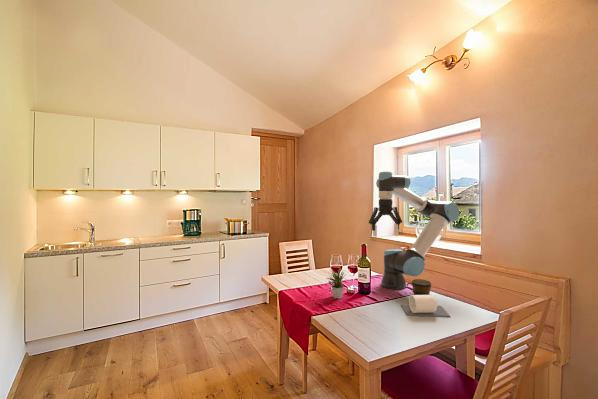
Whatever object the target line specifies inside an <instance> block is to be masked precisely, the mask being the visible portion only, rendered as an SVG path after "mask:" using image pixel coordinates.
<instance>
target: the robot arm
mask: <svg viewBox="0 0 598 399" xmlns="http://www.w3.org/2000/svg"><path fill="white" fill-rule="evenodd" d="M410 185H411V178H410V177H409V176H408V175H393V172H392V171H380V172H378V178H377V179H376V187H377V189H378V207H373V212H372V213H371V216H370V218H369V220H368V224H370V225H371V231H372V237H376V238H377V236H378V235H377V234H378V230H377V229H378V225H377V223H378V222H379V221H380V220H381V217H383V216H389V217H390V218H391V219H392V221H393V222H394V224H393V235H394V236H396V237H397V236H399V230H400V224H403V220H402V218H401V216H400V212H399V211H398V207H397V206H393V196H395V198H398V199H400V200H401V201H403V202H405V203H406V204H408V205H409V206H411V207H412V208H414V210H415V211H417V212H418V213H419V214H422V215H423V216H425V217H427V218H430V220H428V222H427V224H426V225H425V226H424V228H423V230H421V233H420V234H419V236H418V238H416V240H415V241H414V243H413V245H412V246H411V247H410V248H407V249H406V250H405V252H404V250H403V249H399V248H397V249H395V248H393V249H386V250H384V251H383V252H384V253H383V275H382V278H381V280H380V281H381V283H380V284H381V286H382V287H384V288H385V289H386V288H387V289H391V290H392V289H393V290H404V289H406V288H407V281H406V279H405V276H404V275H406V276H409V277H413V278H416V277H419V276H421V275H422V274H423V273H424V271H425V268H426V267H425V266H426V263H425V260H426V258H425V257H426V256H425V255H427V253H428V252H429V250H430V248H431V246H432V245H433V244H434V242H435V241H436V239H437V238H438V236H439V235H440V233H441V231H442V230H443V228H444V227H448V226H449V224H450V223H451V222H453V221H454V222H455V221H457V220H458V219H459V217H460V209H459V206H458V204H457V203H455V202H454V201H449V200H446V201H443V200H442V201H441V200H440V201H439V200H437V201H436V200H429V199H426V198H425V197H420V196H419V195H417V194H416V193H414V192H413V191H411V190H409V189H408V188H409V187H410Z"/></svg>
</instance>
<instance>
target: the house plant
mask: <svg viewBox="0 0 598 399" xmlns="http://www.w3.org/2000/svg"><path fill="white" fill-rule="evenodd" d="M328 270H329V271H330V272H331V273H329V272H328V275H329V276H328V277H326V278H325V279H326V280H328V281H327V283H328V284H332V285H331V288H330V289H331V293H332V297H334V298H333V299H336V298H338V299H342V298H343V294H344V289H345V288H344V287H345V286H344V284H343V282H344V280H343V278H344V275H345V274H344V273H345V271H344V270H342V268H341V267H340V268H339V269H338V270H337V273H336V272H335V271H334V270H332V269H330V268H328ZM324 273H326V274H327V272H324ZM345 281H348V279H345Z"/></svg>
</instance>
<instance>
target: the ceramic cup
mask: <svg viewBox="0 0 598 399" xmlns="http://www.w3.org/2000/svg"><path fill="white" fill-rule="evenodd" d="M409 285H411V287H412V288H410V287H409ZM431 287H432V281H430V280H427V279H420V278H415V279H412V280H411V282H408V283H406V288H407V289H409V290H410V291H411V292H412V293H413V295H431V294H430V293H431V289H432V288H431Z"/></svg>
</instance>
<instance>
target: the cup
mask: <svg viewBox="0 0 598 399" xmlns="http://www.w3.org/2000/svg"><path fill="white" fill-rule="evenodd" d="M408 305H409V306H410V309H411V311H412V312H413V313H434V312H436V310H437V306H438V304H437V301H436V298H435V296H434V295H432V294H429V295H414V294H410V295H409V298H408Z"/></svg>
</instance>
